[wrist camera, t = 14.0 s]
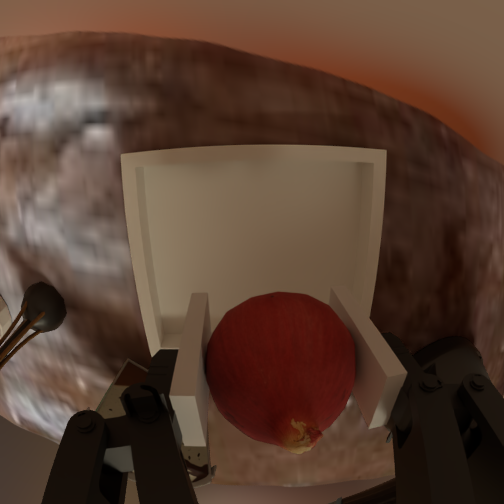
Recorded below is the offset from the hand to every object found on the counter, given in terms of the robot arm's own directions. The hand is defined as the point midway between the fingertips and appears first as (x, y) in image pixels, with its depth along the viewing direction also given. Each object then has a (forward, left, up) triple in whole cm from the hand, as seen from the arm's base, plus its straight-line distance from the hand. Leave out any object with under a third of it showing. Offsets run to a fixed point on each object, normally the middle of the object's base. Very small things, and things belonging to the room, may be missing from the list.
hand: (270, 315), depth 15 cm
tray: (0, 0, -10) cm, 10 cm away
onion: (0, 0, 0) cm, 1 cm away
